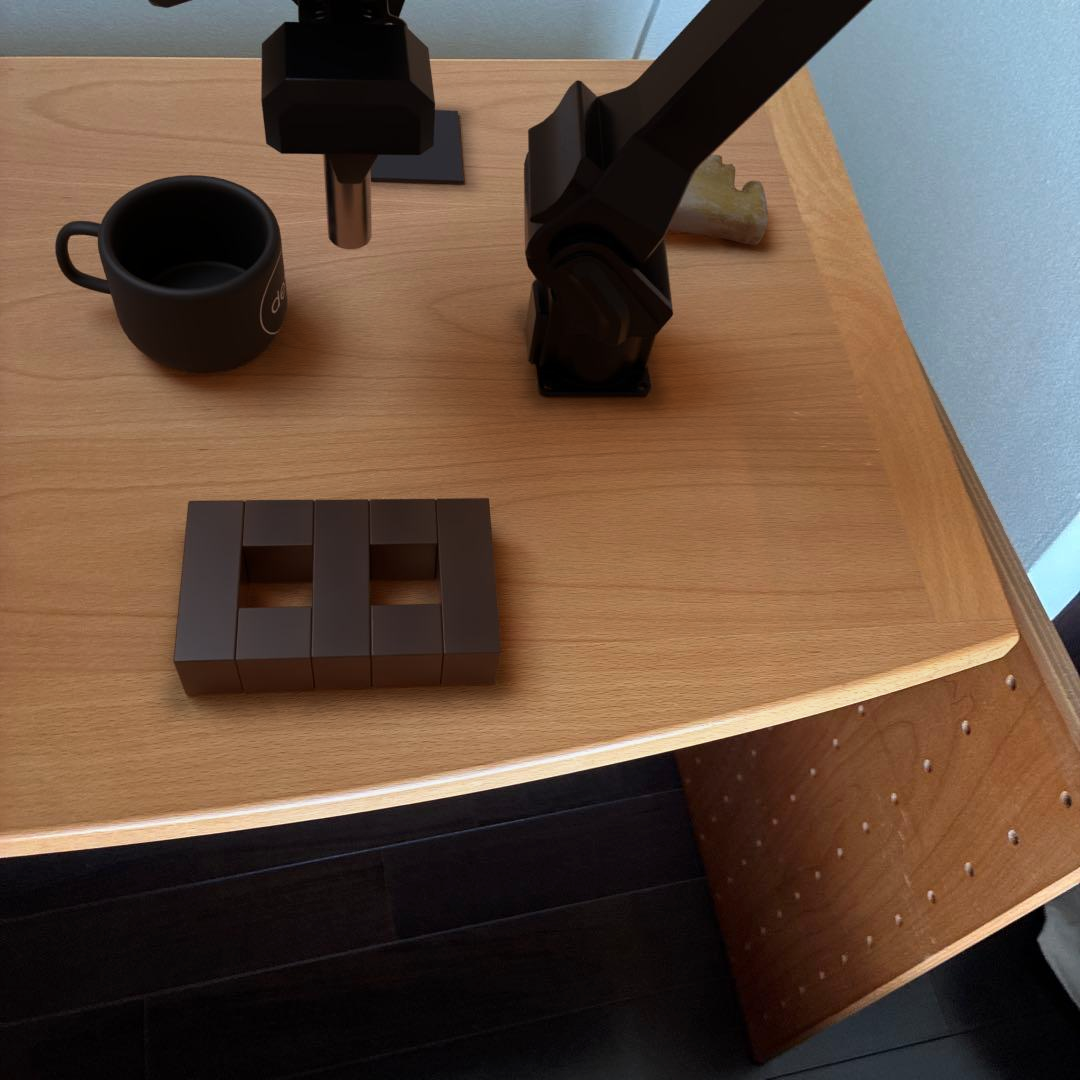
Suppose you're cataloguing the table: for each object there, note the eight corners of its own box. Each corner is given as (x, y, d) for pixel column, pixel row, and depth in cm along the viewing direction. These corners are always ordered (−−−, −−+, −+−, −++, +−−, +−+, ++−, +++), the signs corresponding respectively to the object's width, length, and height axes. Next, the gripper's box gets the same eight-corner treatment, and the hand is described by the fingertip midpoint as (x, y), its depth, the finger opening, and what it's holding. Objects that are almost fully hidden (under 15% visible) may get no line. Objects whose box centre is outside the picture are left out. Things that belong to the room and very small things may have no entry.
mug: (306, 285, 64) (297, 187, 58) (269, 402, 59) (256, 309, 53) (100, 252, 64) (71, 150, 58) (46, 367, 59) (8, 269, 53)
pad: (457, 114, 74) (458, 110, 74) (463, 184, 71) (463, 180, 70) (352, 109, 73) (352, 106, 73) (353, 180, 70) (352, 176, 69)
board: (483, 535, 57) (489, 497, 54) (495, 685, 52) (501, 652, 49) (198, 539, 54) (187, 499, 52) (185, 695, 50) (172, 661, 47)
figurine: (756, 156, 72) (535, 116, 68) (785, 179, 68) (551, 137, 64) (733, 234, 75) (519, 199, 71) (760, 260, 70) (534, 225, 66)
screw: (385, 209, 57) (385, 72, 50) (389, 261, 55) (389, 125, 48) (311, 209, 57) (300, 70, 50) (312, 261, 55) (301, 124, 48)
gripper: (113, -348, 42) (179, 28, 55) (66, -80, 32) (159, 299, 46) (405, -324, 44) (401, 34, 57) (443, -64, 34) (428, 296, 47)
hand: (348, 152), depth 52 cm, fingers closed on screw, 4 cm apart
